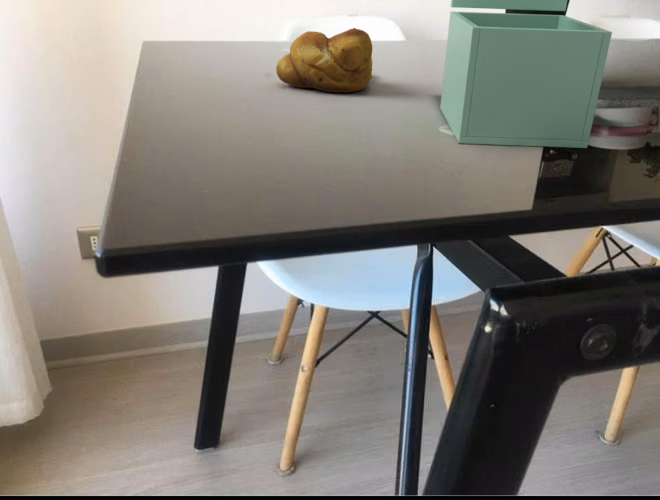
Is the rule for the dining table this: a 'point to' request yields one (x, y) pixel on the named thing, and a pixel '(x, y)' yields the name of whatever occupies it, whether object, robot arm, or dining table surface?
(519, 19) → the cool box
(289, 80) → the bread roll
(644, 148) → the dining table surface
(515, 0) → the lid
